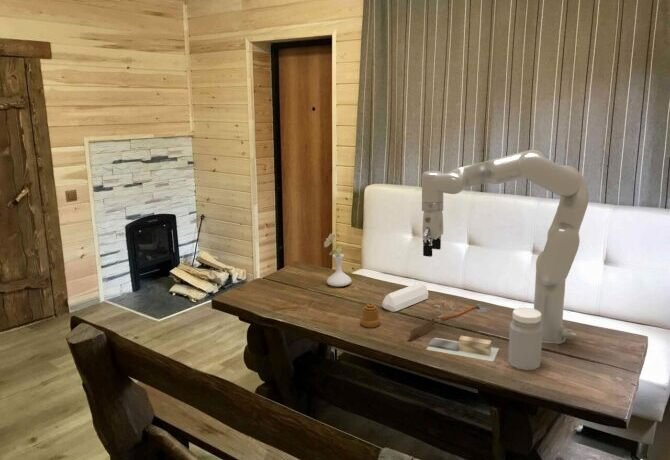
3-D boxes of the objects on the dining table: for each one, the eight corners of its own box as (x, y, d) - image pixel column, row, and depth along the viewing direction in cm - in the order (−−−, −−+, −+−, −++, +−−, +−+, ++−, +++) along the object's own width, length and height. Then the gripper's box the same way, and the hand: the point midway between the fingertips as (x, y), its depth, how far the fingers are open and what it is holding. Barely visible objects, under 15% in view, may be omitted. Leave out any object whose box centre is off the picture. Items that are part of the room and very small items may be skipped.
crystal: (395, 306, 217) (435, 290, 232) (384, 293, 221) (423, 279, 236) (388, 319, 222) (427, 303, 237) (377, 306, 225) (416, 291, 240)
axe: (453, 325, 208) (453, 321, 207) (440, 321, 213) (440, 316, 212) (492, 311, 220) (492, 306, 220) (478, 307, 226) (478, 303, 225)
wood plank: (431, 329, 205) (431, 316, 203) (436, 330, 203) (436, 318, 202) (406, 343, 194) (406, 329, 193) (410, 345, 193) (411, 331, 191)
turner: (491, 350, 184) (491, 339, 183) (488, 357, 180) (488, 345, 179) (432, 340, 193) (432, 329, 192) (428, 346, 189) (428, 335, 188)
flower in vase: (340, 278, 263) (339, 227, 257) (356, 284, 254) (355, 231, 248) (318, 285, 255) (316, 232, 249) (334, 291, 246) (333, 236, 240)
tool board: (499, 351, 186) (499, 348, 186) (493, 364, 177) (493, 361, 177) (434, 340, 195) (434, 337, 195) (426, 352, 187) (426, 349, 187)
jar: (545, 364, 176) (549, 311, 172) (532, 376, 169) (536, 321, 165) (515, 355, 183) (518, 303, 178) (502, 366, 176) (504, 313, 171)
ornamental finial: (371, 330, 205) (356, 324, 210) (384, 324, 210) (369, 318, 216) (371, 309, 203) (356, 305, 208) (384, 304, 208) (369, 299, 214)
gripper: (435, 211, 188) (434, 260, 193) (449, 202, 203) (449, 247, 207) (413, 210, 192) (413, 257, 196) (430, 201, 207) (429, 245, 211)
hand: (432, 252), depth 202 cm, fingers open, 9 cm apart
